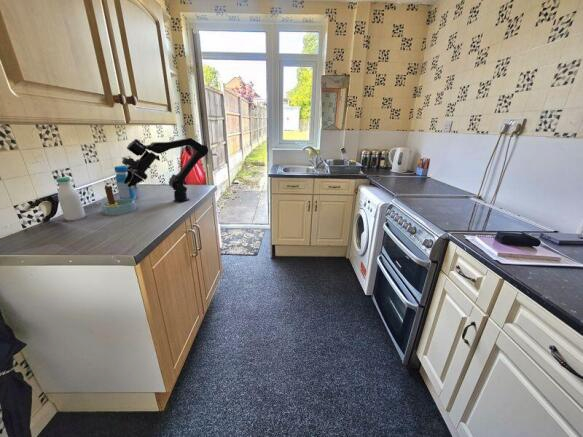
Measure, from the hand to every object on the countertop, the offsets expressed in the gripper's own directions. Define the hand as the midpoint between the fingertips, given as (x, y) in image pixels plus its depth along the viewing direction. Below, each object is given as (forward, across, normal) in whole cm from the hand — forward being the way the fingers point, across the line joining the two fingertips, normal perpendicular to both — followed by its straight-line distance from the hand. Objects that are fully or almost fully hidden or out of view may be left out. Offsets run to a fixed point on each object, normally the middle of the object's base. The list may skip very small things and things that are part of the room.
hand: (126, 184), depth 129 cm
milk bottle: (+26, -1, -7) cm, 27 cm away
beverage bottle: (+8, -23, +12) cm, 27 cm away
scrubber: (+15, -1, +3) cm, 15 cm away
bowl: (+13, 0, +6) cm, 15 cm away
